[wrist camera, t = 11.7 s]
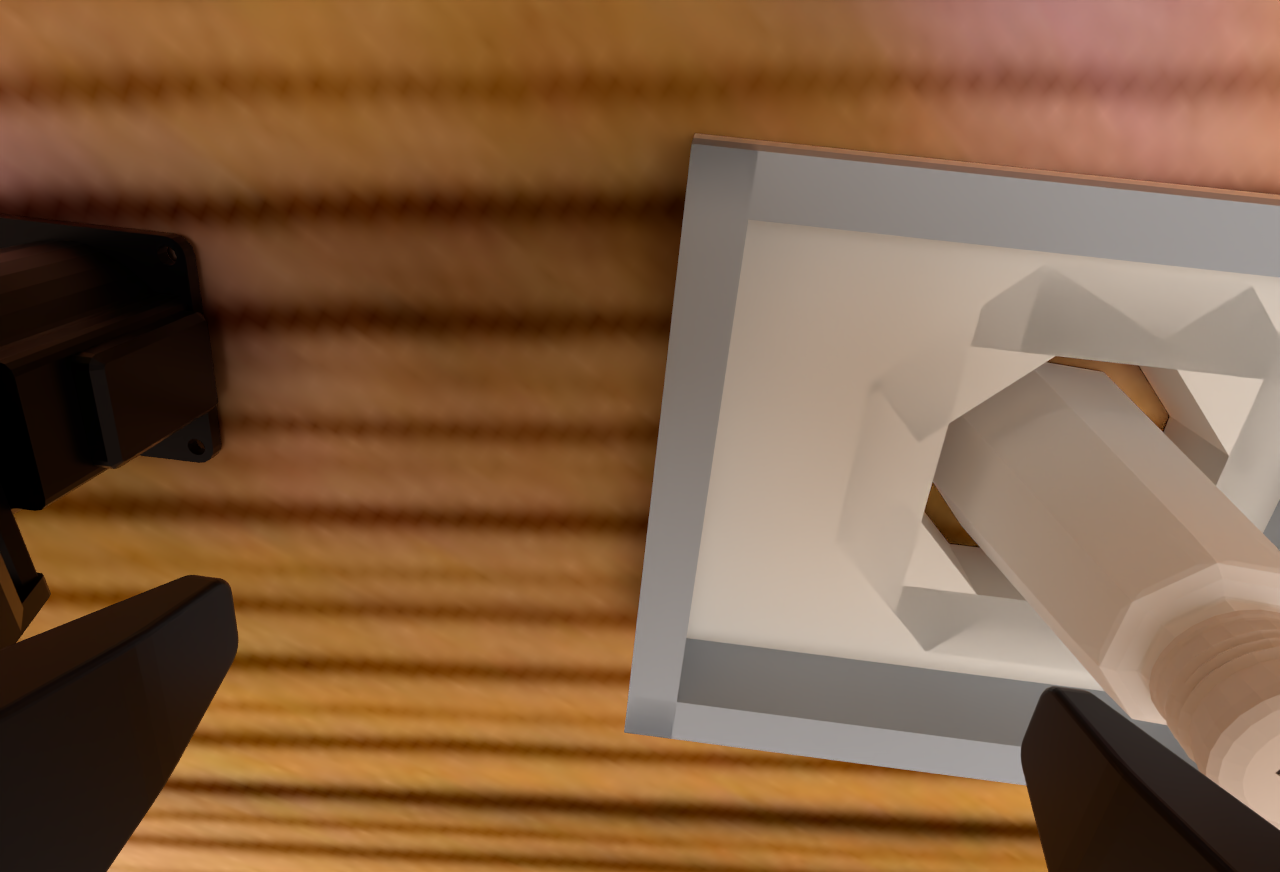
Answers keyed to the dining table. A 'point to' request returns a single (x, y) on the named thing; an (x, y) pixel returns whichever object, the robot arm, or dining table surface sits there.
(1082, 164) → the dining table surface
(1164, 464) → the pepper shaker
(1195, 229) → the bore box
